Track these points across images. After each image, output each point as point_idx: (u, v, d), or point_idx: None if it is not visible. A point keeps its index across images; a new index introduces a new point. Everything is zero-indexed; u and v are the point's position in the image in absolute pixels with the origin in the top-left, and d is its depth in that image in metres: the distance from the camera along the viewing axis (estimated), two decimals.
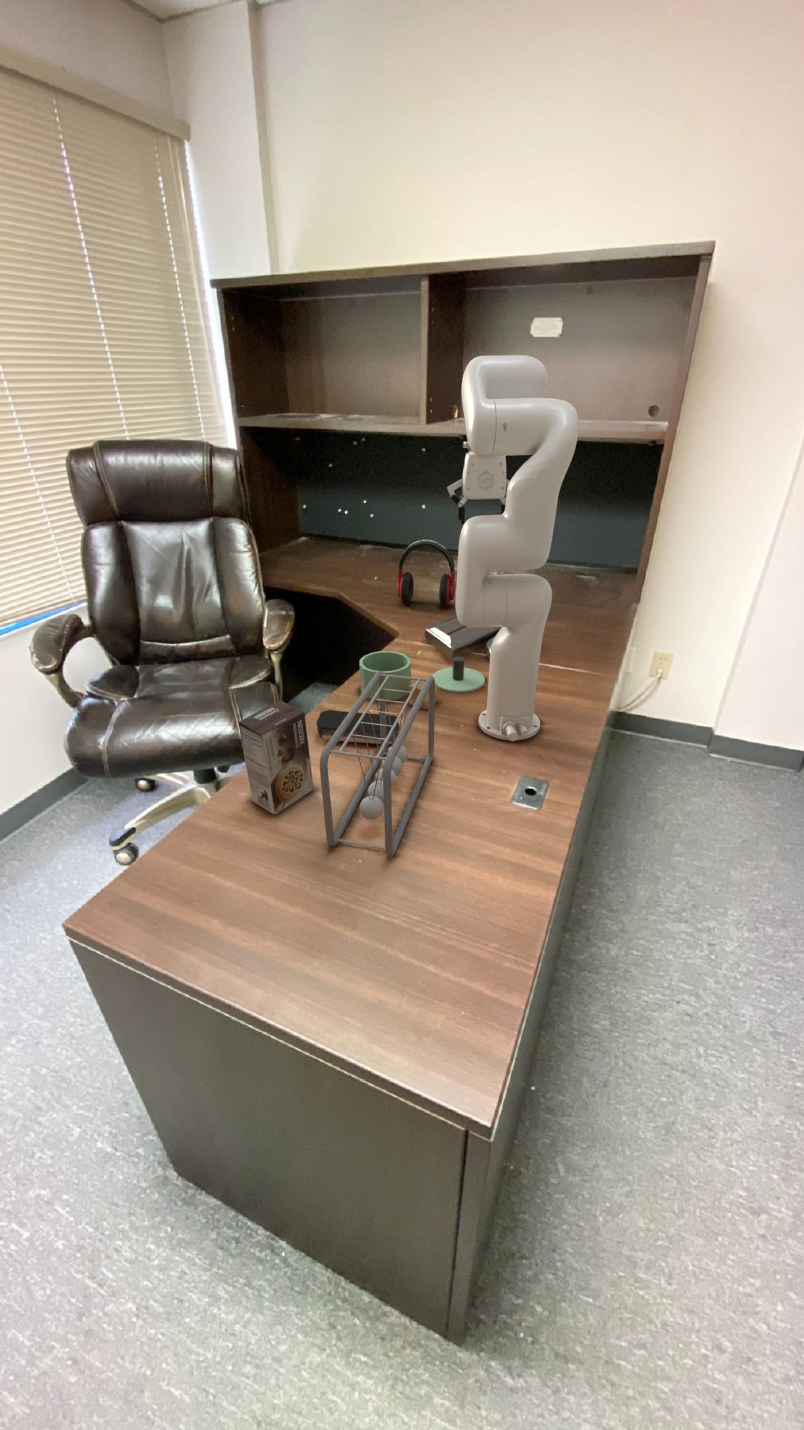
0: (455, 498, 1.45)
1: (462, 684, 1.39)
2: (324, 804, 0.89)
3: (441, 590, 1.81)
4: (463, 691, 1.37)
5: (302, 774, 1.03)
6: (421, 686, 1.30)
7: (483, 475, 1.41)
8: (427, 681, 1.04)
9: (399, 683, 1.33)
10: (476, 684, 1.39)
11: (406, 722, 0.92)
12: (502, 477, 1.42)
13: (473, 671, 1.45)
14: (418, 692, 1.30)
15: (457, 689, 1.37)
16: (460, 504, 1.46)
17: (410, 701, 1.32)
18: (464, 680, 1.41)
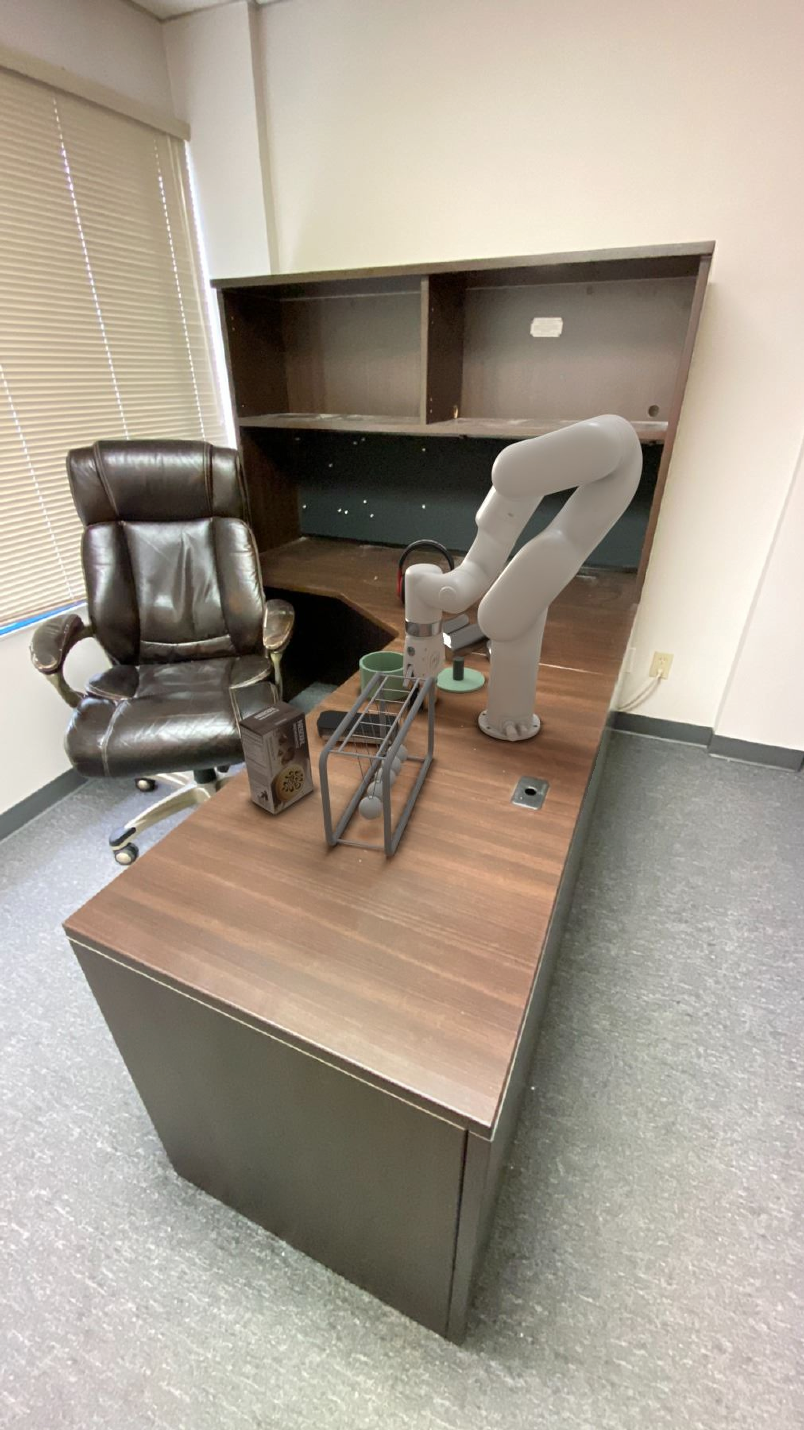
0: (415, 688, 1.27)
1: (462, 684, 1.39)
2: (323, 804, 0.89)
3: None
4: (463, 691, 1.37)
5: (302, 774, 1.03)
6: None
7: (433, 656, 1.26)
8: (427, 681, 1.04)
9: (399, 683, 1.33)
10: (476, 684, 1.39)
11: (405, 722, 0.92)
12: (443, 651, 1.29)
13: (473, 671, 1.45)
14: None
15: (457, 689, 1.37)
16: (419, 692, 1.28)
17: None
18: (464, 680, 1.41)
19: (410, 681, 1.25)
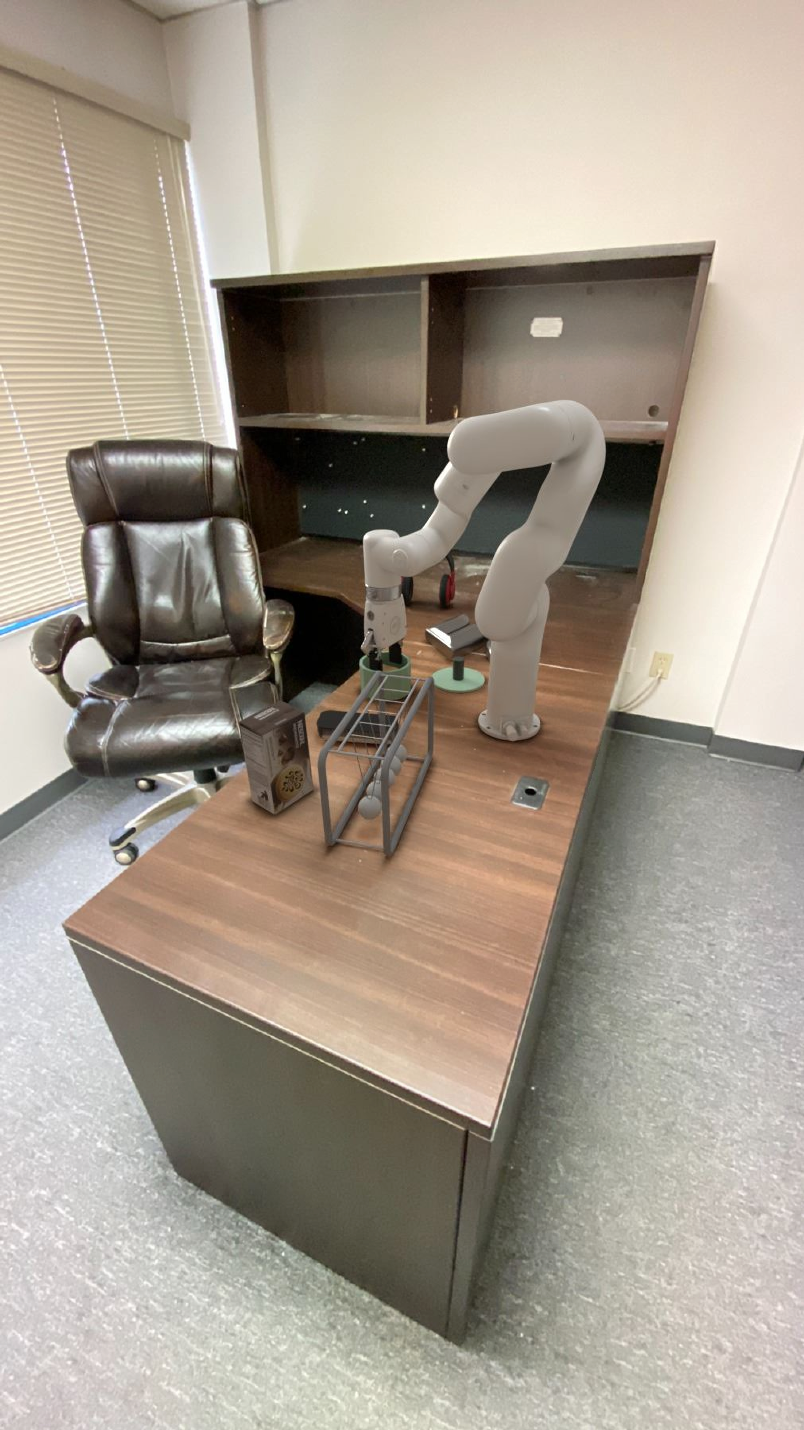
0: (373, 653, 1.29)
1: (462, 684, 1.39)
2: (322, 804, 0.89)
3: (441, 590, 1.81)
4: (463, 691, 1.37)
5: (302, 774, 1.03)
6: None
7: (393, 621, 1.29)
8: (426, 681, 1.04)
9: (399, 683, 1.33)
10: (476, 684, 1.39)
11: (404, 722, 0.92)
12: (404, 617, 1.32)
13: (473, 671, 1.45)
14: None
15: (457, 689, 1.37)
16: (378, 657, 1.30)
17: None
18: (464, 680, 1.41)
19: (370, 642, 1.27)
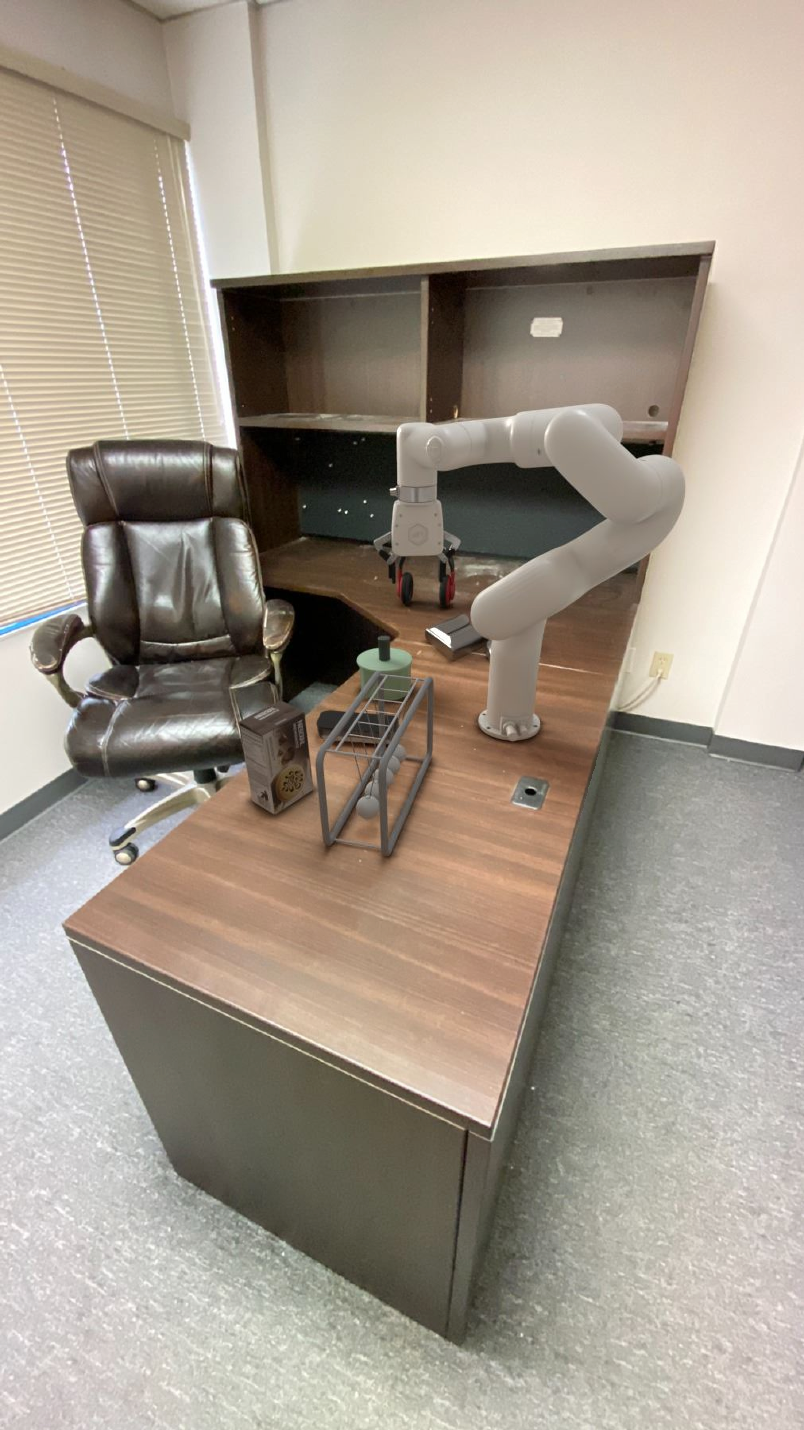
0: (383, 554, 1.21)
1: (387, 664, 1.33)
2: (320, 803, 0.89)
3: (441, 590, 1.81)
4: (387, 671, 1.30)
5: (302, 774, 1.03)
6: None
7: (415, 528, 1.17)
8: (425, 681, 1.04)
9: (399, 683, 1.33)
10: (402, 664, 1.33)
11: (403, 722, 0.92)
12: (438, 530, 1.17)
13: (402, 652, 1.39)
14: None
15: (381, 669, 1.31)
16: (390, 561, 1.21)
17: None
18: (390, 660, 1.35)
19: (385, 538, 1.20)
